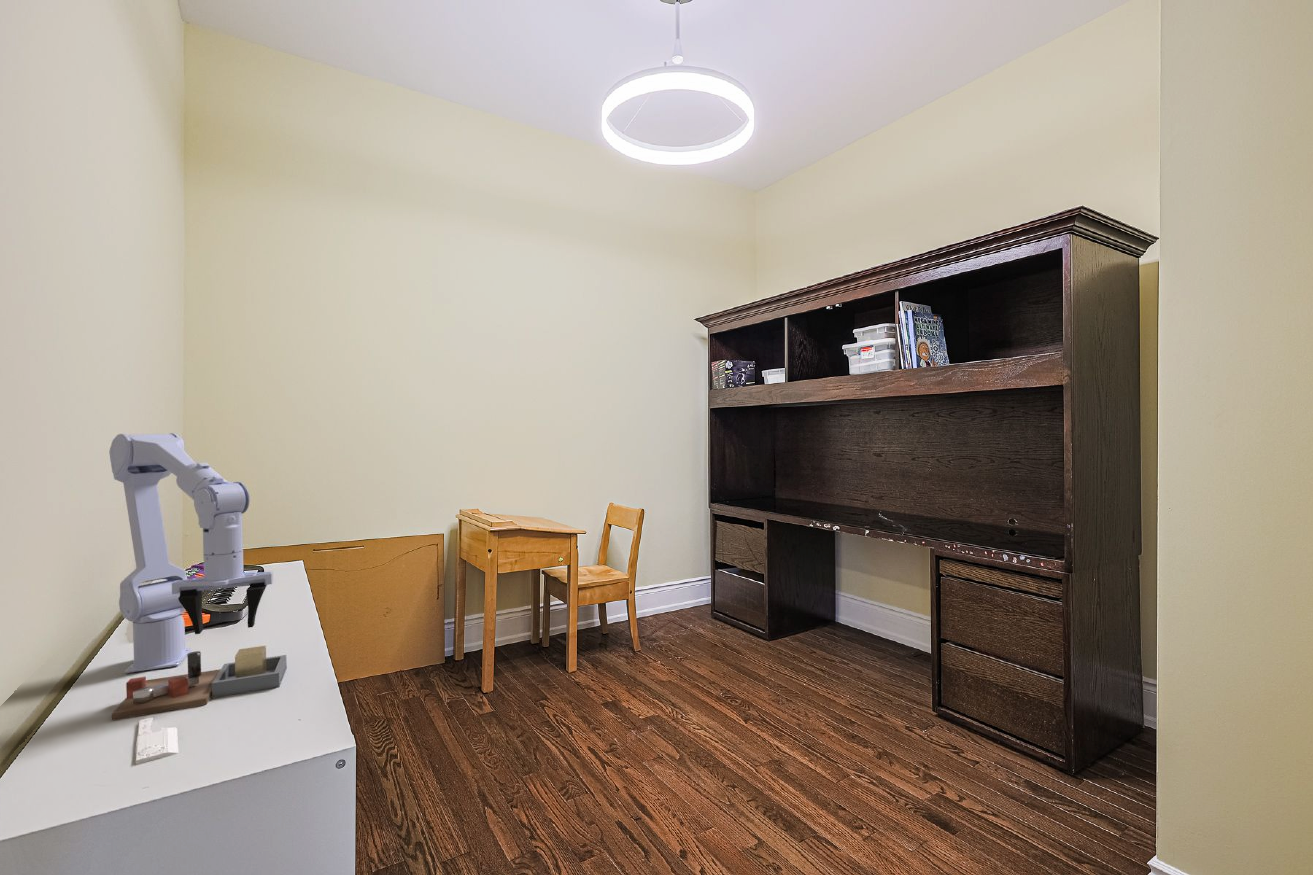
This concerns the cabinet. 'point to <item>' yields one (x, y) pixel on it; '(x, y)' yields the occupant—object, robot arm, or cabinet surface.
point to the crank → (151, 692)
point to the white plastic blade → (155, 742)
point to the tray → (249, 678)
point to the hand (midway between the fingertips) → (225, 629)
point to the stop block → (250, 661)
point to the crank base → (167, 695)
